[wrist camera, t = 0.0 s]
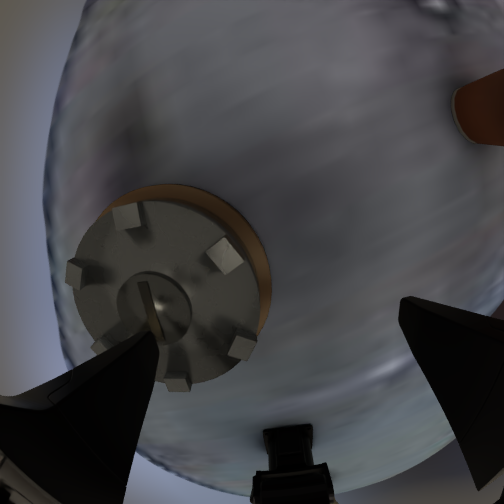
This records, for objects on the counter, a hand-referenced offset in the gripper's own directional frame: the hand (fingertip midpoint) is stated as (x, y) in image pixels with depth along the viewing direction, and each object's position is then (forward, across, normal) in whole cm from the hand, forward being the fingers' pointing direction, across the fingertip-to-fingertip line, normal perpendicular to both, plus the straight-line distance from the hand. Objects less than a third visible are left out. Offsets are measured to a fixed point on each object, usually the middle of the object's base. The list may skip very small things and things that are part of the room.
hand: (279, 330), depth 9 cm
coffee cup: (+15, -24, -11) cm, 30 cm away
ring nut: (+13, +9, +3) cm, 16 cm away
